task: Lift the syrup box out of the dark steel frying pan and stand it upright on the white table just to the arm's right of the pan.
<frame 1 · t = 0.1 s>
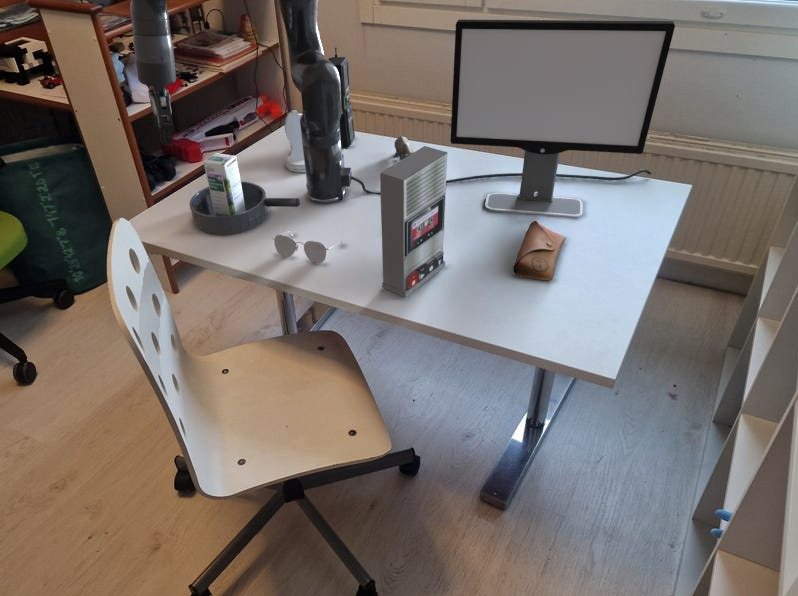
hand: (164, 137, 137), 22 cm above the table, tool pointing down, fingers open, 8 cm apart
chess piece: (304, 165, 175), on the table
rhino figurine: (405, 165, 172), on the table
cassette tape recorder: (414, 278, 131), on the table
pan: (231, 216, 155), on the table
syrup box: (231, 215, 155), resting on pan
computer monitor: (534, 206, 151), on the table
sunglasses: (309, 251, 142), on the table
sunglasses case: (539, 257, 135), on the table
portable radio: (343, 144, 184), on the table
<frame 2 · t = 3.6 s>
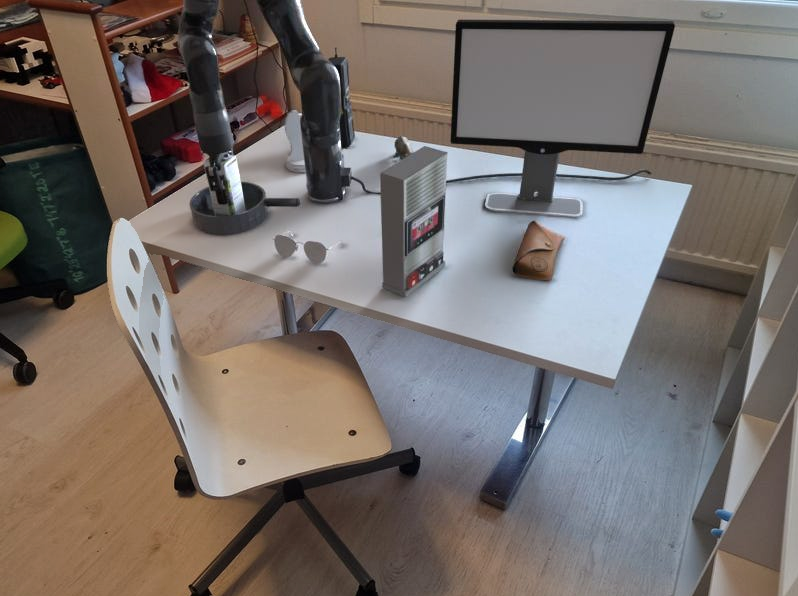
hand: (227, 196, 152), 5 cm above the table, tool pointing down, fingers closed on syrup box, 6 cm apart
syrup box: (231, 215, 155), resting on pan, touching gripper
everything else where it was.
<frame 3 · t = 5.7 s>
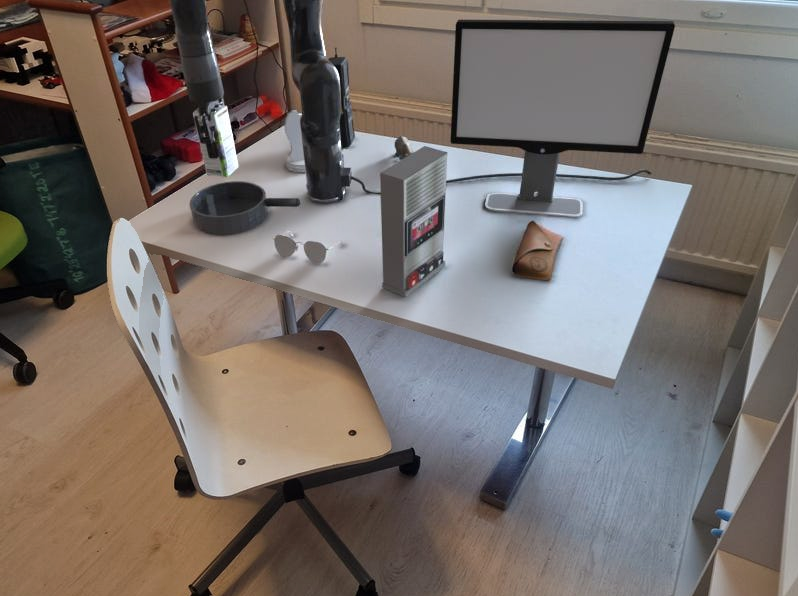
hand: (218, 150, 144), 17 cm above the table, tool pointing down, fingers closed on syrup box, 6 cm apart
syrup box: (223, 172, 148), point 11 cm above the table, touching gripper
everything else where it was.
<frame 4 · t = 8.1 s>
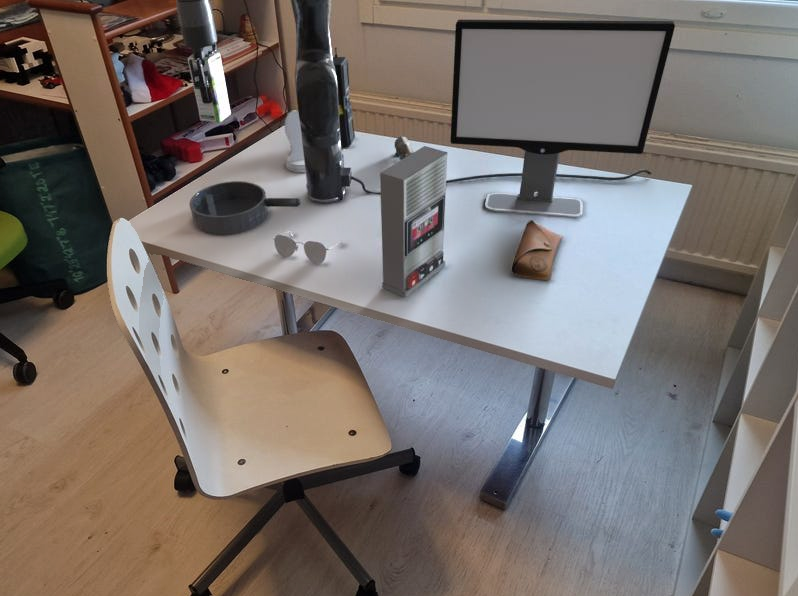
hand: (212, 97, 152), 23 cm above the table, tool pointing down, fingers closed on syrup box, 6 cm apart
syrup box: (216, 118, 155), point 18 cm above the table, touching gripper
everything else where it was.
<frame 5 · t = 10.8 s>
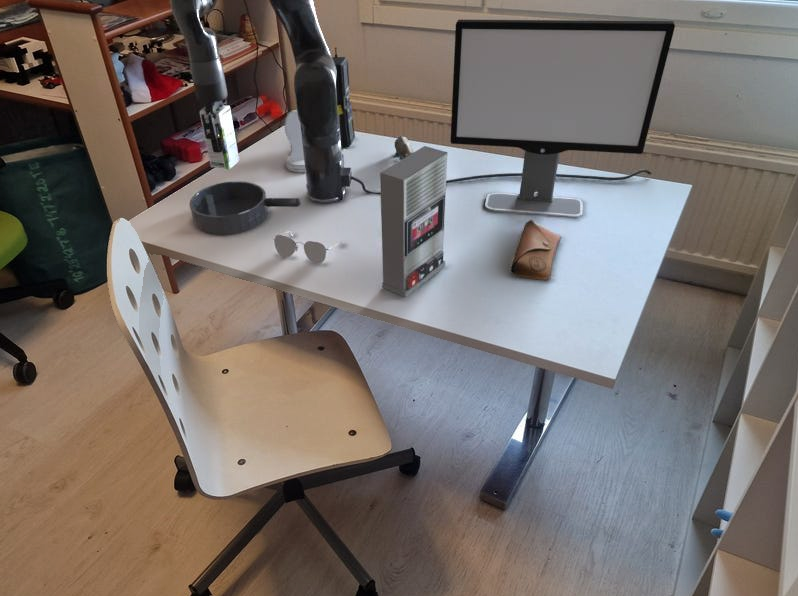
hand: (221, 145, 161), 11 cm above the table, tool pointing down, fingers closed on syrup box, 6 cm apart
syrup box: (225, 164, 165), point 6 cm above the table, touching gripper
everything else where it was.
when the fingers open (5 cm above the table, at t = 12.8 s): syrup box stays where it is, on the table.
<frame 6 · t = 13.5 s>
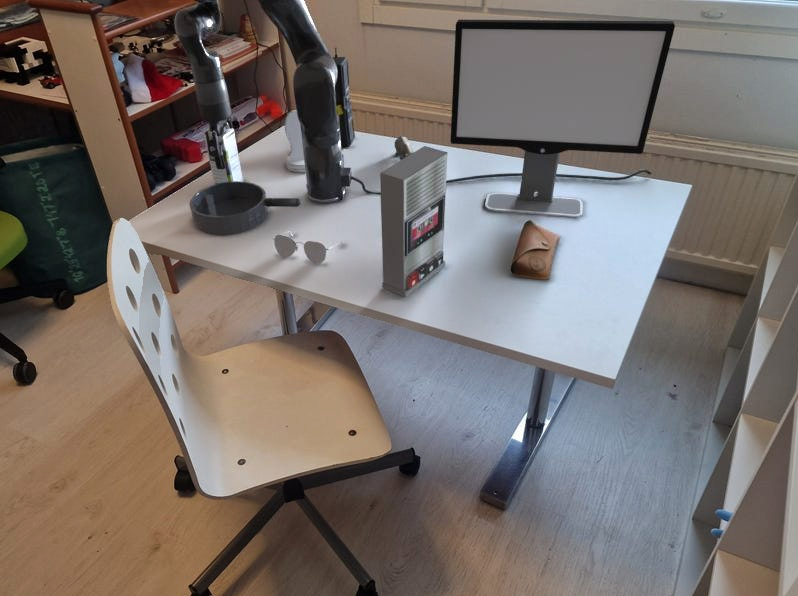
hand: (225, 161, 165), 6 cm above the table, tool pointing down, fingers open, 8 cm apart
syrup box: (229, 185, 169), on the table
everything else where it was.
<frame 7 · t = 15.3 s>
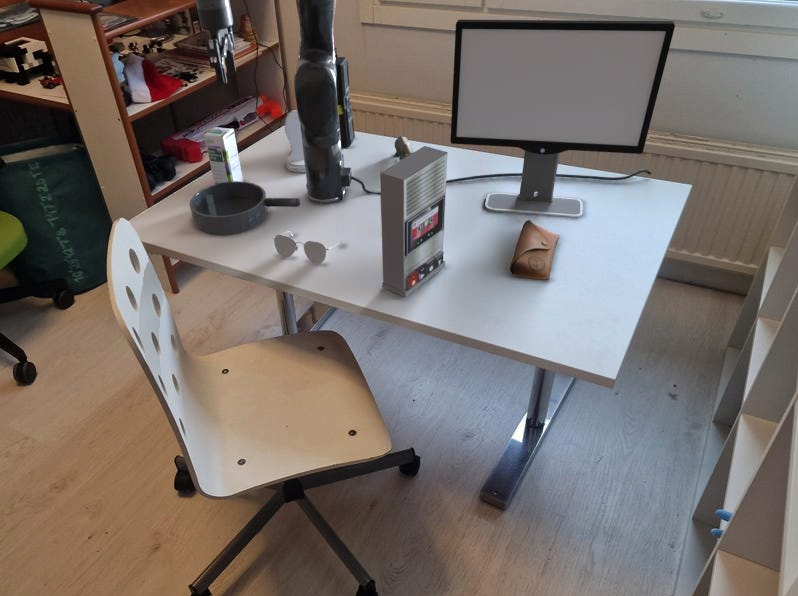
hand: (227, 78, 154), 26 cm above the table, tool pointing down, fingers open, 8 cm apart
nothing on the table moved.
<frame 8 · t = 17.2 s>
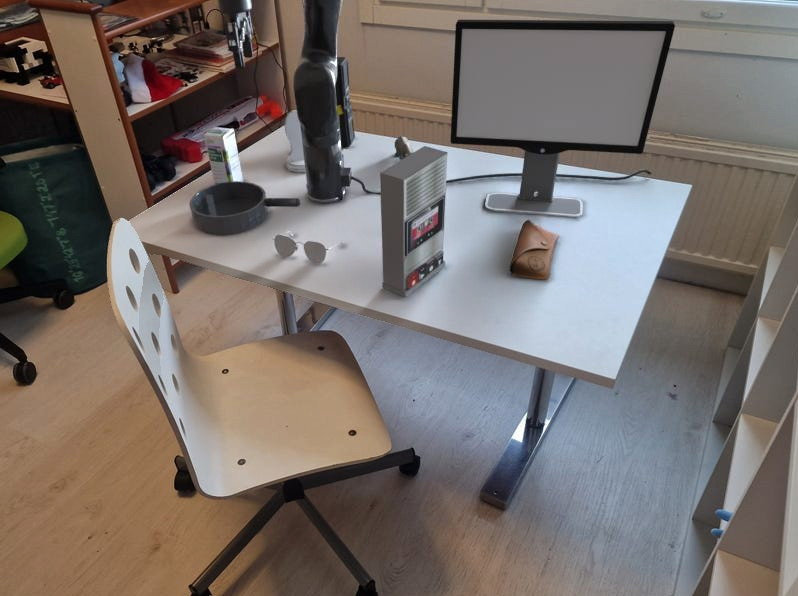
hand: (244, 62, 155), 28 cm above the table, tool pointing down, fingers open, 8 cm apart
at the end: syrup box inside the target area (0.1 cm from its centre), on the table; syrup box tilted 0°; the gripper is holding nothing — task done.
